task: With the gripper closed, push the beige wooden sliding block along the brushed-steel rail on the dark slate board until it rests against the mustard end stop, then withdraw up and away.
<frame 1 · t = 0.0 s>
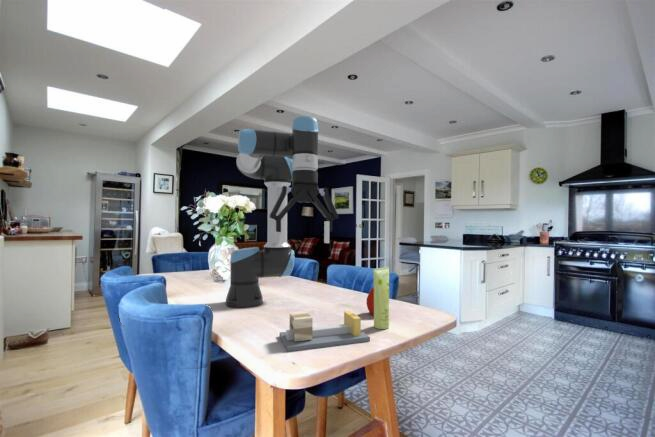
hand: (304, 243, 92), 28 cm above the table, fingers open, 13 cm apart
beige wooden sliding block: (300, 325, 90), point 4 cm above the table, slide at 0.0 cm
rail board: (323, 338, 93), on the table
apple: (377, 314, 118), on the table
tube: (381, 327, 103), on the table
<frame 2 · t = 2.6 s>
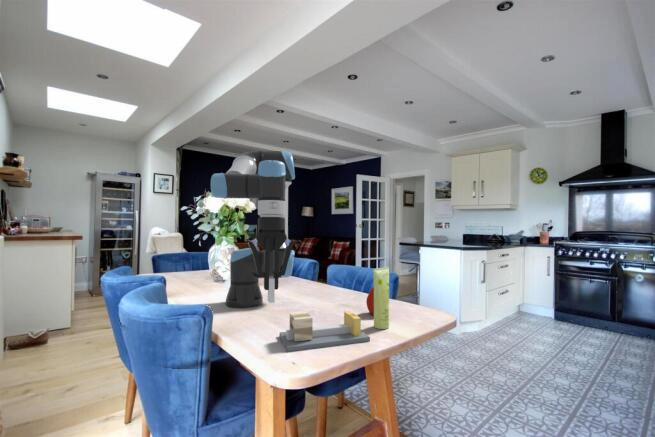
hand: (271, 301, 88), 12 cm above the table, fingers closed
nothing on the table moved.
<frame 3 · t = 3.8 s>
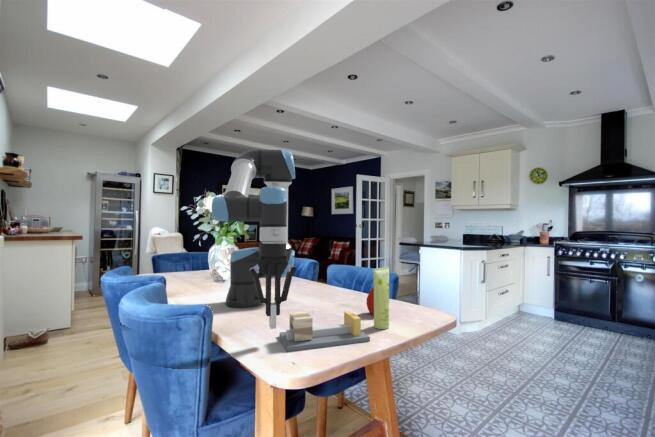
hand: (272, 327, 88), 5 cm above the table, fingers closed
nothing on the table moved.
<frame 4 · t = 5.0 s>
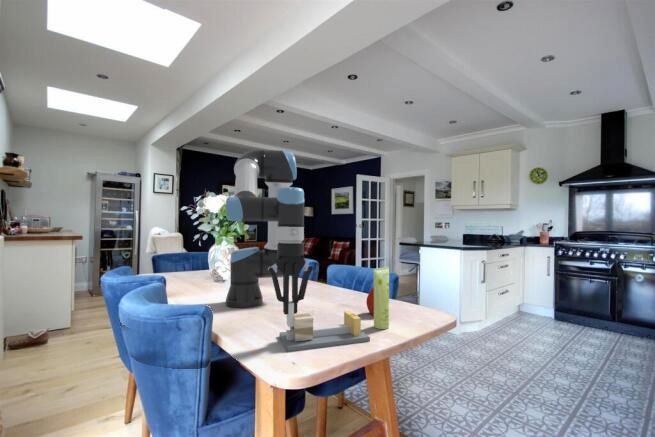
hand: (290, 325, 89), 5 cm above the table, fingers closed
beige wooden sliding block: (301, 325, 91), point 4 cm above the table, slide at 0.2 cm, touching gripper
everything else where it was.
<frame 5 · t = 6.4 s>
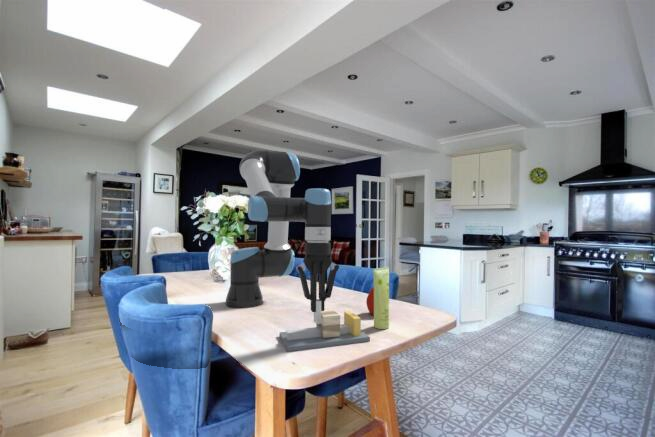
hand: (317, 322, 92), 5 cm above the table, fingers closed
beige wooden sliding block: (327, 322, 93), point 4 cm above the table, slide at 8.3 cm, touching gripper
everything else where it was.
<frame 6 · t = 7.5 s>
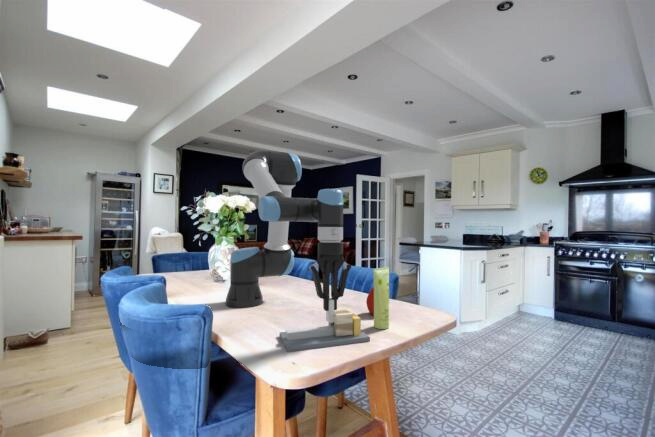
hand: (330, 321, 93), 5 cm above the table, fingers closed
beige wooden sliding block: (340, 321, 94), point 4 cm above the table, slide at 12.2 cm, touching gripper
everything else where it was.
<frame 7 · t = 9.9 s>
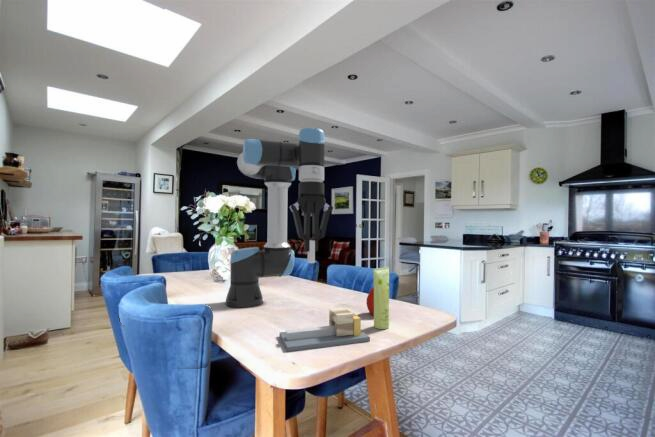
hand: (311, 262, 92), 22 cm above the table, fingers closed
beige wooden sliding block: (341, 321, 94), point 4 cm above the table, slide at 12.4 cm
everything else where it was.
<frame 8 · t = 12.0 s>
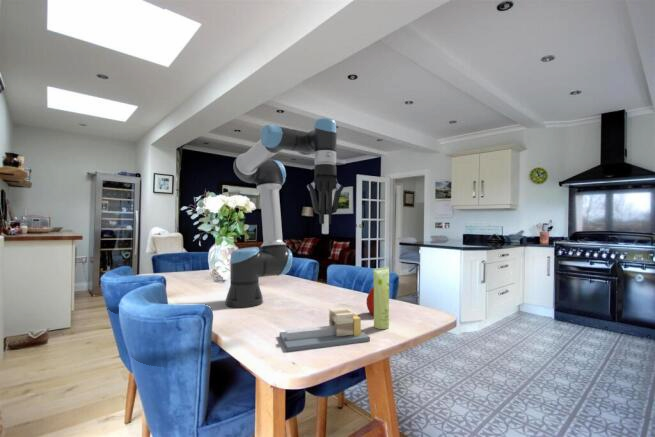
hand: (325, 233, 108), 30 cm above the table, fingers closed
nothing on the table moved.
at the end: beige wooden sliding block slide at 12.4 cm; beige wooden sliding block touching nothing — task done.
